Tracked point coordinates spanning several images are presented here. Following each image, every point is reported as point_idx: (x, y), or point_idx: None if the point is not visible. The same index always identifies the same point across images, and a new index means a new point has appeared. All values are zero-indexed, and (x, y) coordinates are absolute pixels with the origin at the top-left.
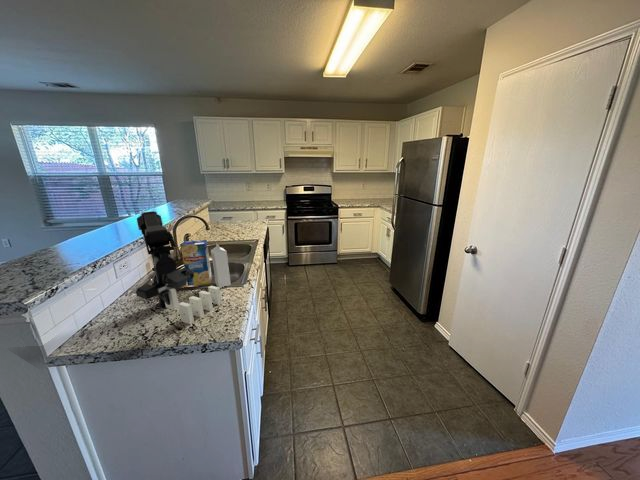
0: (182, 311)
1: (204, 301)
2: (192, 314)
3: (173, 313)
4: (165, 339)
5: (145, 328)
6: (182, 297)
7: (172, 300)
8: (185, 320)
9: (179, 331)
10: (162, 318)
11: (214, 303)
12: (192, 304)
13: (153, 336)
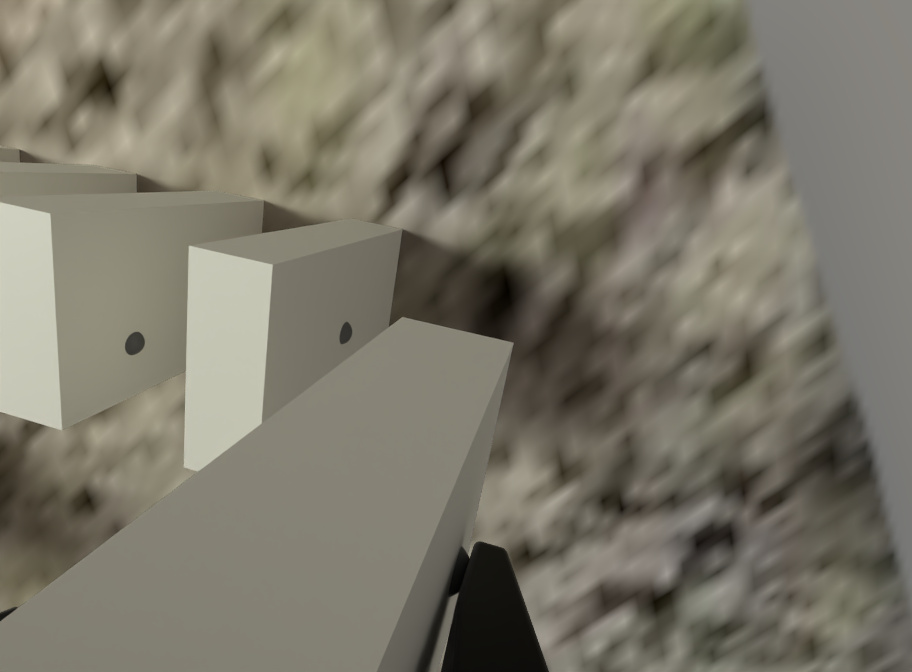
0: (324, 369)
1: None
2: (304, 228)
3: None
4: (708, 323)
5: (565, 641)
6: None
7: (452, 514)
8: (381, 308)
9: (544, 265)
10: None
11: None
12: (148, 338)
13: (674, 487)
